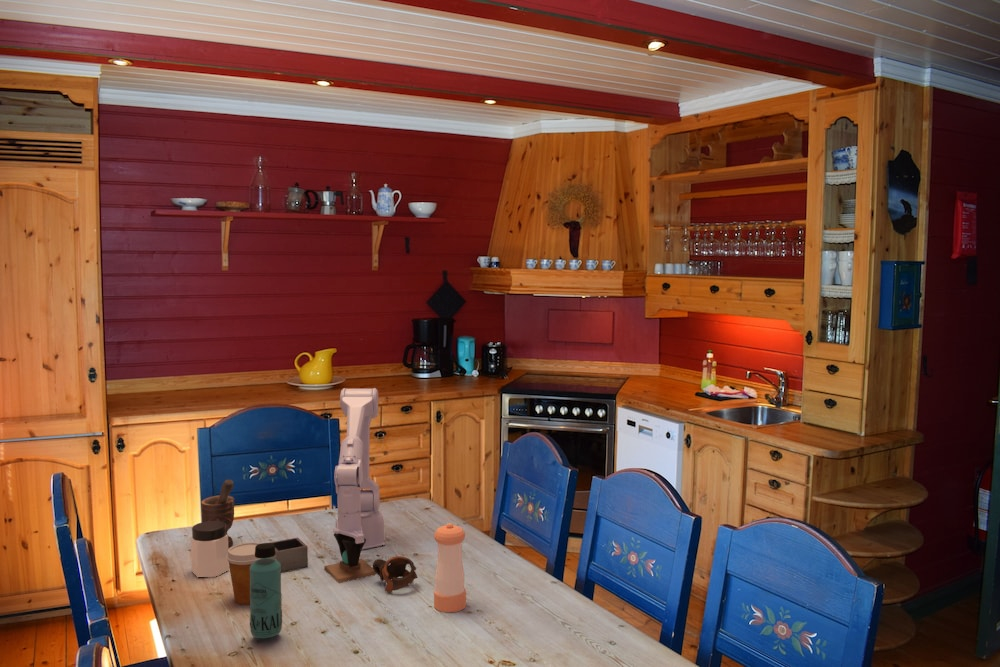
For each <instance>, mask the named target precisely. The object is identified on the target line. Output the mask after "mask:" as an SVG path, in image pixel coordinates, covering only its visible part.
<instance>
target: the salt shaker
mask: <svg viewBox="0 0 1000 667" xmlns="http://www.w3.org/2000/svg"><path fill="white" fill-rule="evenodd" d="M433 535H434V536H433V537H434V540H435V541H436V543H437V563H436V571H435V575H434V577H435V589H434V591H433V595H434V596H433V607H434V609H436V610H437V611H439V612H442V613H455V612H456V613H457V612H459V611H462V610H463V609H465V608H466V606H467V591H466V588H465V571H464V563H463V556H462V555H463V549H462V548H463V547H462V546H463V542H464V540H465V538H466V533H465V531H464V528H462V527H461V526H459V525H458V526H457V525H456V524H453V523H451V522H448V523H446V525H442V526H439V527H438V528H437V529H436V530H435V532H434V534H433Z"/></svg>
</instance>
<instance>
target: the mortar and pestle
mask: <svg viewBox="0 0 1000 667" xmlns="http://www.w3.org/2000/svg"><path fill="white" fill-rule="evenodd" d="M233 488H234V481H233V480H232V479H226V480H224V481H223V483H222V485H221V489H220V494H219V495H215V496H214V495H213V496H209V497H206V498H204V499H203V500H201V502H200V503H201V504H200V505H201V519H202V520H201V521H202V522H207V521H221V522H224V523H226V527H227V531H226V534H227V535H228V531H229V530H230V529H231V528H232V526H233V523H234V519H235V498H234V497H233V496H230V494H231V492H232V491H233ZM233 540H234V539H233V538H232V537H231V536H230V535H228V549H230V548H231V547H233V546H234V545H233V544H234V541H233Z"/></svg>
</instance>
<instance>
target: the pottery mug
mask: <svg viewBox="0 0 1000 667" xmlns="http://www.w3.org/2000/svg"><path fill="white" fill-rule="evenodd" d="M407 565H409V566H410V571H409V570H408V569H406V568H407ZM372 568H373V569H374V571H375V572H376V575H378V576H379V578H380V581H381V582H384V581H385V583H386V584H385V587H384V590H385V592H386V593H388V594H391V593H393V591H397V590H400V589H403V588H406V587H409V585H411V584H412V583H413V582H414V580H415V579H418V574H417V573H416V570H417V567H416V566H415V564H414V562H413V561H412V559H410V558H408V557H406V556H401V555H399V556H397V555H396V556H392V557H391V558H388V559H387V560H384V559H381V558H377V559H375V560H374V561H373V563H372ZM391 579H392V580H391Z"/></svg>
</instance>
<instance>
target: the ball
mask: <svg viewBox="0 0 1000 667" xmlns="http://www.w3.org/2000/svg"><path fill="white" fill-rule="evenodd" d="M341 561H343V562H344V563H345V564H347V565H349V564H348V559H347V552H346V550H345V551H344V552H343V554H342V557H341Z"/></svg>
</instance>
